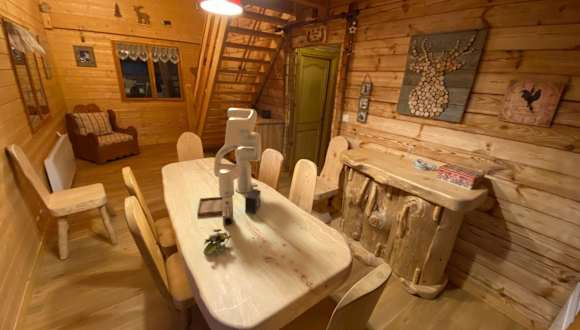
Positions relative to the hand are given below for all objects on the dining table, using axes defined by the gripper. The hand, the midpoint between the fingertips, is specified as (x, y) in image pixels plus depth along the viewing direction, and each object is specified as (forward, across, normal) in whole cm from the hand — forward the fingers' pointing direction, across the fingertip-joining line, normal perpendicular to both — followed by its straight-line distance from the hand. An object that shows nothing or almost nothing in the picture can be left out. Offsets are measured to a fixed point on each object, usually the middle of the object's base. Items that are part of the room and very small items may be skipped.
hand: (228, 220), depth 131 cm
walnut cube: (+1, 0, 0) cm, 1 cm away
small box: (+1, +11, -15) cm, 19 cm away
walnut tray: (+1, +17, +9) cm, 19 cm away
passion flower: (+1, -22, +5) cm, 23 cm away
